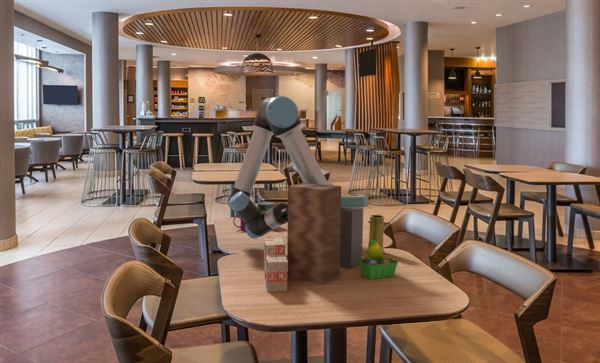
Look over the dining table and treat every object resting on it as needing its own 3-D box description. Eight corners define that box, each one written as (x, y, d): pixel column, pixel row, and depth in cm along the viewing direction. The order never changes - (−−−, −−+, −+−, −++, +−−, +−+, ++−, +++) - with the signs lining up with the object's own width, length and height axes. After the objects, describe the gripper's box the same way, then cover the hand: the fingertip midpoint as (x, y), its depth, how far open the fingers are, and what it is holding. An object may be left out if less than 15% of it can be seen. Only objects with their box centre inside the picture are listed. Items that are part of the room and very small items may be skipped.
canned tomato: (277, 224, 258) (277, 202, 257) (270, 228, 251) (270, 204, 249) (262, 223, 261) (262, 201, 259) (255, 226, 253) (255, 203, 252)
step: (320, 263, 192) (321, 208, 189) (332, 257, 200) (333, 204, 197) (350, 268, 186) (352, 211, 183) (361, 262, 193) (363, 207, 191)
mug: (254, 231, 243) (254, 216, 242) (232, 231, 243) (232, 216, 242) (255, 228, 250) (255, 213, 249) (234, 228, 250) (234, 213, 249)
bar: (299, 206, 197) (299, 197, 197) (304, 205, 200) (304, 196, 200) (364, 207, 184) (363, 197, 183) (368, 205, 187) (367, 195, 186)
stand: (287, 277, 175) (287, 186, 171) (303, 269, 184) (304, 182, 180) (324, 284, 168) (326, 189, 164) (339, 276, 176) (341, 186, 173)
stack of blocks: (287, 291, 161) (288, 251, 160) (266, 292, 161) (267, 252, 159) (281, 271, 182) (282, 235, 181) (263, 271, 182) (263, 236, 180)
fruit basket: (369, 280, 172) (369, 246, 171) (355, 273, 180) (356, 240, 179) (398, 276, 177) (400, 243, 175) (384, 269, 185) (385, 237, 183)
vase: (385, 251, 210) (386, 215, 208) (382, 254, 204) (383, 218, 202) (369, 249, 212) (370, 214, 210) (366, 253, 206) (367, 216, 204)
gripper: (295, 220, 212) (341, 196, 200) (269, 228, 197) (317, 202, 185) (287, 203, 213) (333, 178, 201) (261, 210, 198) (308, 183, 186)
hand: (325, 189), depth 193 cm, fingers open, 5 cm apart
